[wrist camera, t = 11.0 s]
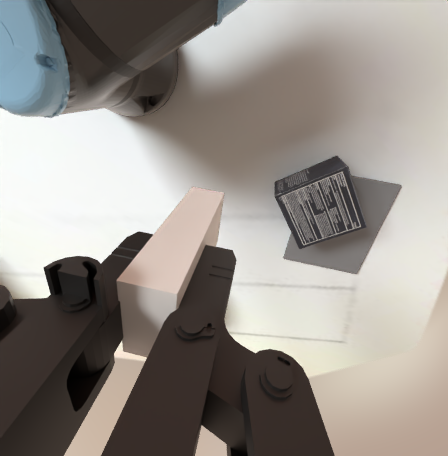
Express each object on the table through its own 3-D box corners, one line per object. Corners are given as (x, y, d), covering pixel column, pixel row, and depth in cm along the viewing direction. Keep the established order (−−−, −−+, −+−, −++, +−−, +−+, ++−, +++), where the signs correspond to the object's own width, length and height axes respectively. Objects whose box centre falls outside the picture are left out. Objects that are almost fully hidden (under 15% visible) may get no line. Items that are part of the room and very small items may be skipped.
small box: (296, 231, 47) (356, 210, 44) (299, 251, 42) (368, 230, 38) (274, 180, 43) (338, 153, 40) (273, 195, 38) (349, 165, 34)
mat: (283, 257, 51) (283, 258, 50) (311, 168, 42) (311, 169, 41) (355, 272, 50) (356, 274, 49) (400, 184, 41) (401, 185, 40)
